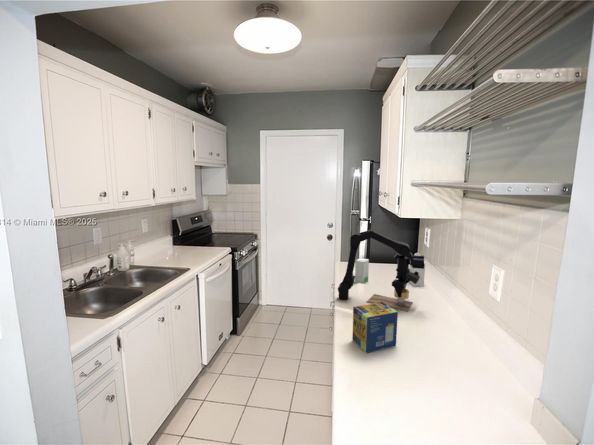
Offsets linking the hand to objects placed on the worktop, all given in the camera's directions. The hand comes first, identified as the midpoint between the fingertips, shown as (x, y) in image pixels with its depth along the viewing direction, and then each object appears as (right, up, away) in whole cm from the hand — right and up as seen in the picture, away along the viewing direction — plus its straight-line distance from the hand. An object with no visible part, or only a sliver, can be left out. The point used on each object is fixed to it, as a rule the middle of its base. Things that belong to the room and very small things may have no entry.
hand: (401, 294), depth 160 cm
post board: (-5, -7, +4) cm, 9 cm away
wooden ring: (0, -1, 0) cm, 1 cm away
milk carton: (+22, -2, +35) cm, 42 cm away
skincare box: (-13, -1, +40) cm, 42 cm away
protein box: (-23, -13, -33) cm, 43 cm away
